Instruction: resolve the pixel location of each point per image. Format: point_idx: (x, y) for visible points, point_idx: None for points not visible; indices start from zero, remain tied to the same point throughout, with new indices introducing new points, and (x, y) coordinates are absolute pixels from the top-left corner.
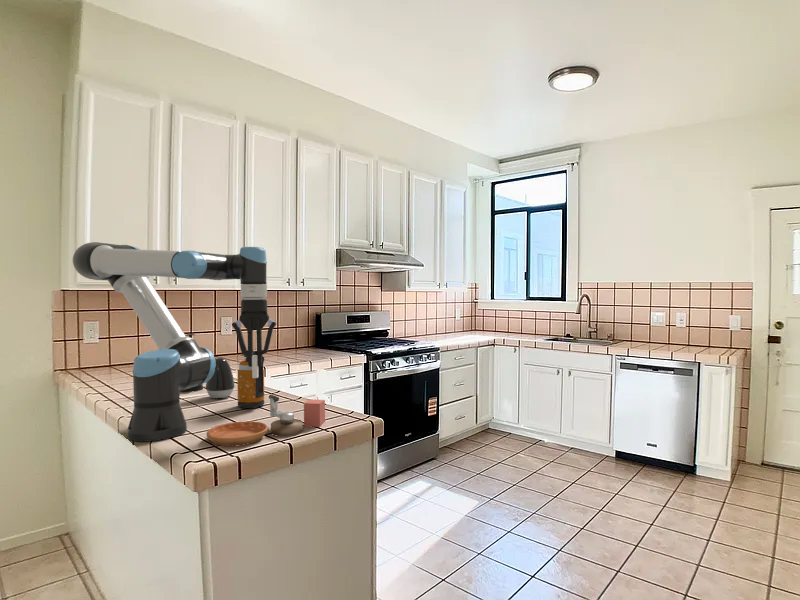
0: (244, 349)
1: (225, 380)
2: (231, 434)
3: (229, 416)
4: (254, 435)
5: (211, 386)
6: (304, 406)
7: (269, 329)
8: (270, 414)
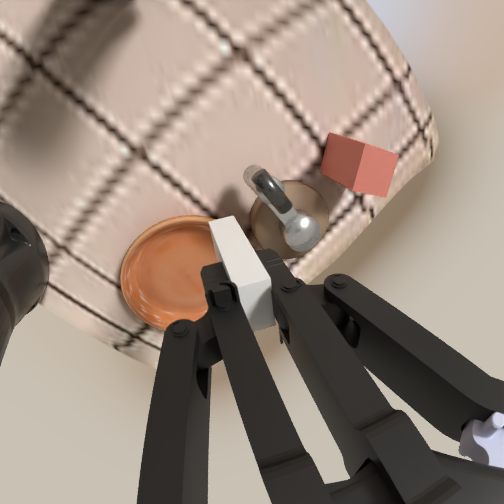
0: (207, 383)
1: None
2: (168, 268)
3: (79, 81)
4: None
5: None
6: (348, 188)
7: (446, 425)
8: (246, 183)
